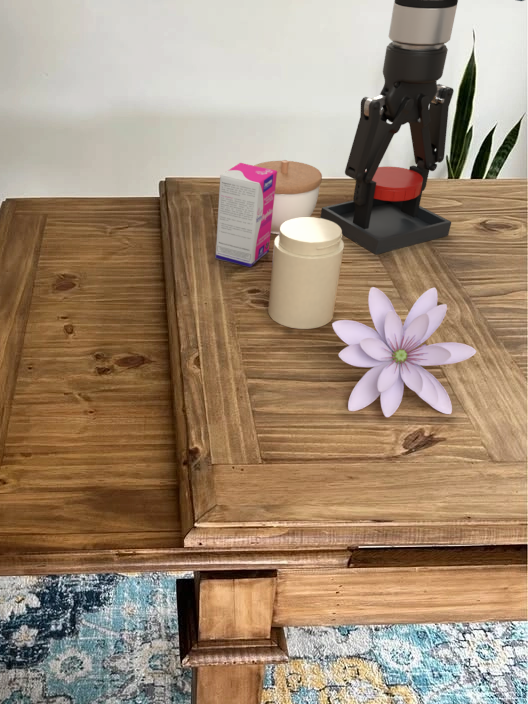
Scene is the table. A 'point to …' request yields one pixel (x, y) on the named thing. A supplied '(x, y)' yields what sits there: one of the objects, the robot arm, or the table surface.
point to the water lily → (398, 353)
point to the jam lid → (396, 184)
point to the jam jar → (305, 272)
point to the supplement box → (245, 214)
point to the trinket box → (293, 191)
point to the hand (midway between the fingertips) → (385, 219)
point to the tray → (387, 225)
